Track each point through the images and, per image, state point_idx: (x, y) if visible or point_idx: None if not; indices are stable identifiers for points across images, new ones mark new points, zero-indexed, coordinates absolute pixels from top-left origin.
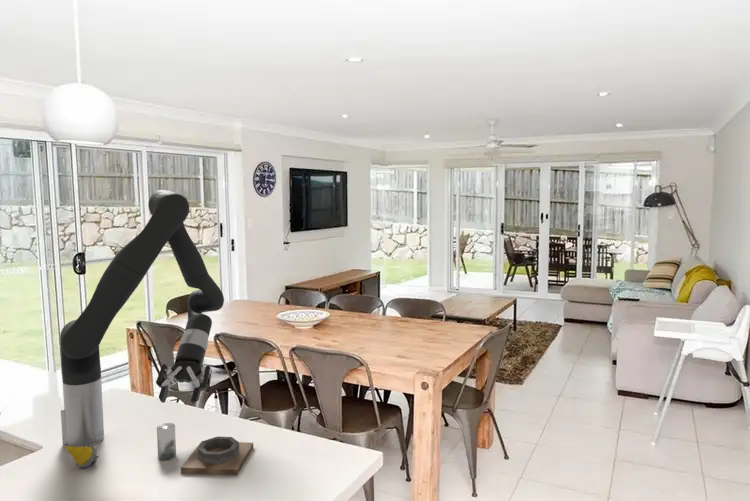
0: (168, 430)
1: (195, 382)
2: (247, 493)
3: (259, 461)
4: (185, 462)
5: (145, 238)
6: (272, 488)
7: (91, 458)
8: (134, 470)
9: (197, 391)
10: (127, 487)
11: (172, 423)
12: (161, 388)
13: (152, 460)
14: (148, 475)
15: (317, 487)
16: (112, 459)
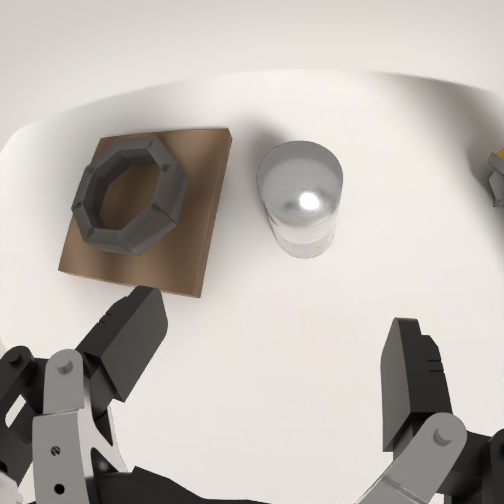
0: (276, 149)
1: (67, 393)
2: (101, 100)
3: (64, 206)
4: (220, 151)
5: None
6: (67, 121)
7: (491, 154)
8: (369, 151)
9: (93, 338)
10: (343, 87)
11: (278, 209)
12: (449, 409)
13: (342, 203)
14: (317, 128)
15: (22, 139)
16: (463, 215)
